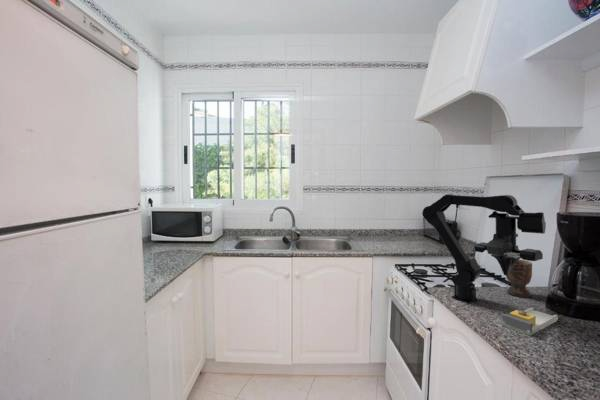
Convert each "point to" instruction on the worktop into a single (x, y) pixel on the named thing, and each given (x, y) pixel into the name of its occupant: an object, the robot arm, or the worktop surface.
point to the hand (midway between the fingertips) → (506, 275)
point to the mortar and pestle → (520, 278)
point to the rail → (526, 326)
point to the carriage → (524, 316)
